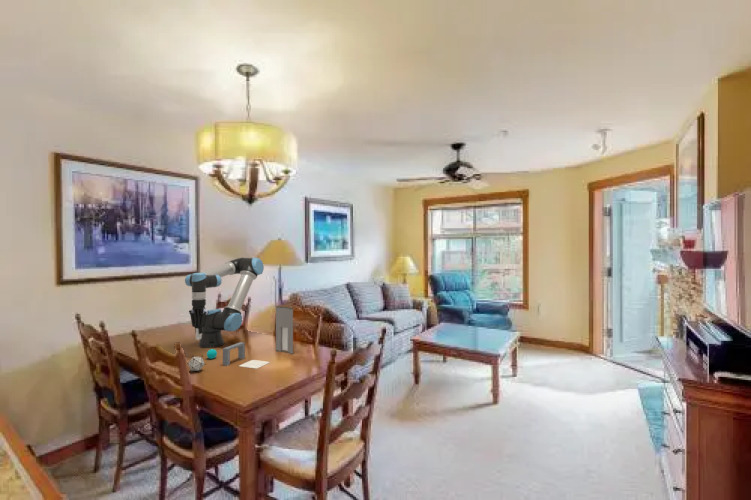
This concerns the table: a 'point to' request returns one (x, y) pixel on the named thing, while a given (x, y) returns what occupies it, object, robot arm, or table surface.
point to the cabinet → (284, 328)
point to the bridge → (227, 350)
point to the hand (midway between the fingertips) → (198, 338)
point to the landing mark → (254, 364)
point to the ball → (211, 353)
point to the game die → (196, 363)
